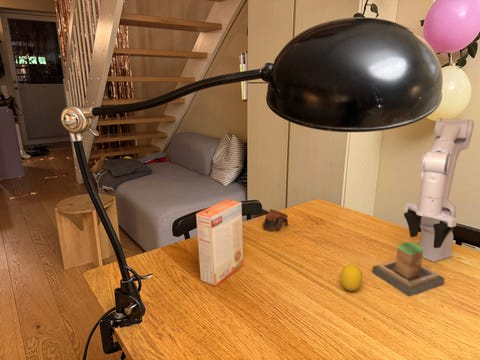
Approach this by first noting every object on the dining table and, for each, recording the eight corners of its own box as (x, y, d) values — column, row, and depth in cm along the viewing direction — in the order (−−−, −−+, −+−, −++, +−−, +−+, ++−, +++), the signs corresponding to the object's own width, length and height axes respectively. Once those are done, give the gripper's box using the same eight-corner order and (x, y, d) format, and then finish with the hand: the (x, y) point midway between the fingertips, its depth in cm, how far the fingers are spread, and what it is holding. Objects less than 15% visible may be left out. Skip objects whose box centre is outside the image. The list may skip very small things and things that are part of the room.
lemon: (362, 298, 89) (364, 270, 87) (340, 295, 90) (342, 268, 88) (359, 286, 95) (362, 259, 92) (338, 284, 96) (340, 258, 93)
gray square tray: (404, 263, 106) (405, 254, 105) (443, 284, 95) (445, 275, 94) (372, 272, 101) (373, 264, 100) (409, 296, 90) (410, 287, 89)
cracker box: (228, 260, 109) (226, 198, 104) (244, 266, 106) (243, 201, 100) (198, 280, 98) (194, 212, 93) (215, 287, 95) (212, 216, 89)
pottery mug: (257, 226, 136) (264, 207, 137) (278, 234, 139) (285, 215, 139) (268, 230, 125) (276, 209, 125) (290, 239, 127) (298, 218, 128)
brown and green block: (406, 266, 100) (409, 241, 98) (419, 274, 96) (423, 248, 94) (395, 270, 98) (398, 244, 96) (408, 277, 94) (411, 251, 92)
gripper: (399, 190, 98) (393, 234, 102) (446, 205, 85) (438, 255, 89) (416, 187, 101) (411, 230, 104) (465, 201, 88) (457, 250, 92)
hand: (424, 241), depth 97 cm, fingers open, 7 cm apart
